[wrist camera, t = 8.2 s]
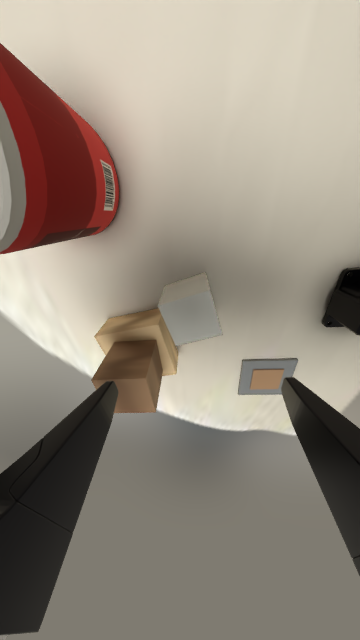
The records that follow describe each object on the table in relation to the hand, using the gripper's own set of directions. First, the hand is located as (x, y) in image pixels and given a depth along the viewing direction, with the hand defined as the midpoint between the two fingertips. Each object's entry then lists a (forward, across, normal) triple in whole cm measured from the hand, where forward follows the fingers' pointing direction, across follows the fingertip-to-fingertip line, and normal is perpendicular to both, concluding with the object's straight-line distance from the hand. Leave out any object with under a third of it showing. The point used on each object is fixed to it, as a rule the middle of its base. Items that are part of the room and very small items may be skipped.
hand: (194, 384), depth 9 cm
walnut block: (+8, +6, +5) cm, 11 cm away
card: (+12, -9, +13) cm, 20 cm away
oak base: (+12, +7, +5) cm, 14 cm away
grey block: (+12, 0, 0) cm, 12 cm away
